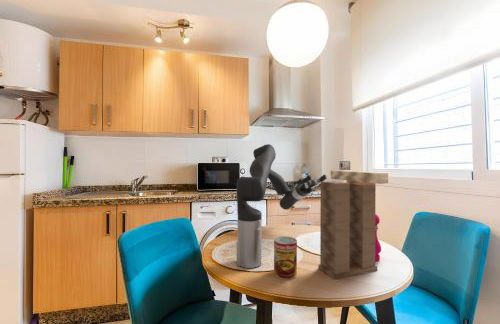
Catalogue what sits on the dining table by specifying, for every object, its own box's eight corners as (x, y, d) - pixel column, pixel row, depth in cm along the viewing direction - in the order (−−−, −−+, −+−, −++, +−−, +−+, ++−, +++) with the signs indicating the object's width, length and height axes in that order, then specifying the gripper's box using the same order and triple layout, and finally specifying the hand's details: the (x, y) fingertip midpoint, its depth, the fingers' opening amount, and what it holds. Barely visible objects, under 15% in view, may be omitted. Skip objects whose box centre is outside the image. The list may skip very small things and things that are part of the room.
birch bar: (330, 178, 104) (330, 170, 104) (338, 178, 106) (338, 170, 106) (379, 183, 82) (379, 173, 82) (388, 183, 83) (388, 173, 83)
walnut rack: (318, 268, 91) (318, 181, 90) (358, 260, 98) (358, 180, 97) (335, 279, 82) (335, 183, 82) (377, 270, 89) (377, 181, 89)
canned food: (273, 278, 83) (273, 242, 83) (274, 268, 91) (274, 235, 91) (297, 280, 82) (297, 244, 82) (296, 269, 90) (296, 236, 89)
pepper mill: (383, 262, 96) (384, 211, 96) (363, 261, 97) (364, 210, 97) (378, 255, 103) (378, 207, 103) (359, 254, 104) (359, 207, 104)
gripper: (287, 184, 128) (302, 169, 115) (310, 182, 133) (328, 169, 120) (291, 197, 125) (307, 184, 111) (315, 195, 130) (333, 183, 117)
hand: (318, 176), depth 116 cm, fingers open, 8 cm apart
